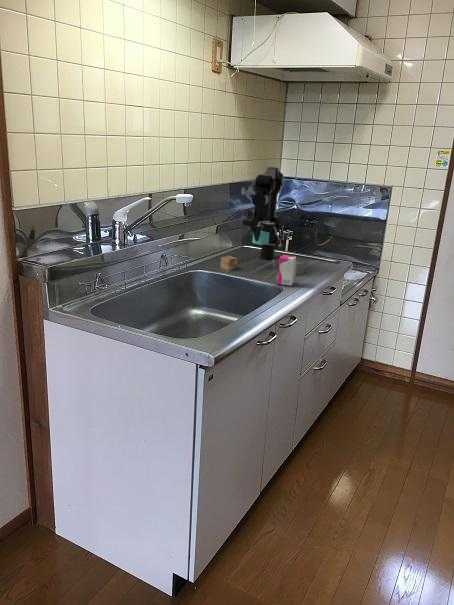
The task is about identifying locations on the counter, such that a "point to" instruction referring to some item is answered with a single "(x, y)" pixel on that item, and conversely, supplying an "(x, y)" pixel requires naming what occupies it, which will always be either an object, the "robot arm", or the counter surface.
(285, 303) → the counter surface
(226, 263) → the walnut cube
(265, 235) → the teal cube
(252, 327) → the counter surface
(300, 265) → the charcoal cube
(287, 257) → the supplement box
